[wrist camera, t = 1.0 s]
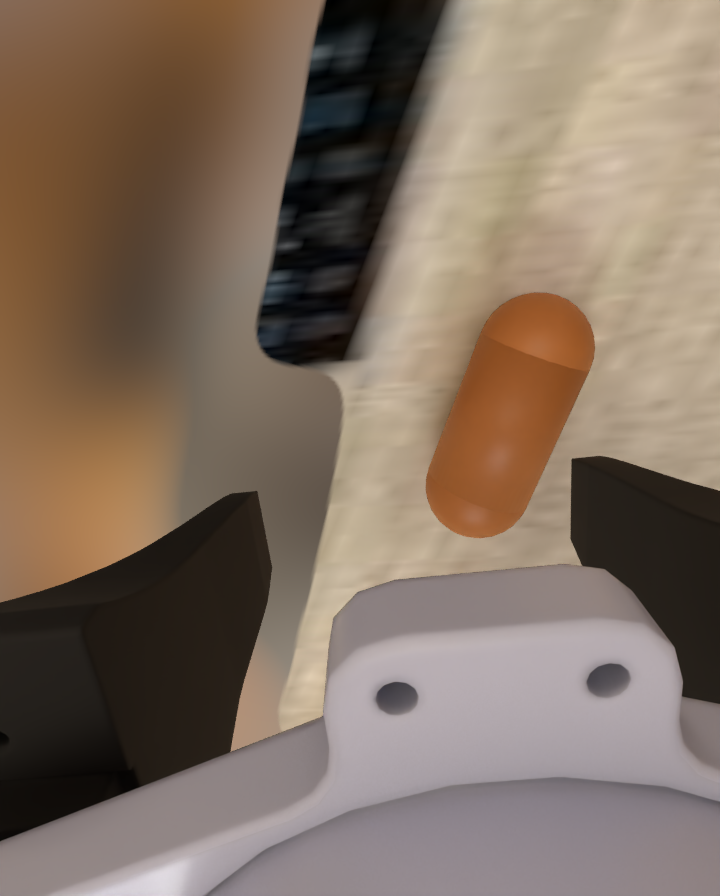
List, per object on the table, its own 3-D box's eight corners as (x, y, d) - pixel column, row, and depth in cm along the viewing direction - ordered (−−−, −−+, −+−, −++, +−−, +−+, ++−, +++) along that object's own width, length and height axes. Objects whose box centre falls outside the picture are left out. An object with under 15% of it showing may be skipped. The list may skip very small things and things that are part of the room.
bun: (502, 277, 25) (502, 276, 21) (604, 311, 25) (626, 317, 20) (418, 493, 29) (404, 531, 25) (506, 527, 28) (507, 572, 24)
